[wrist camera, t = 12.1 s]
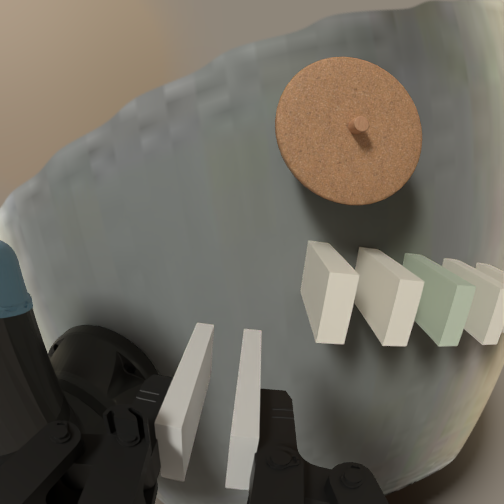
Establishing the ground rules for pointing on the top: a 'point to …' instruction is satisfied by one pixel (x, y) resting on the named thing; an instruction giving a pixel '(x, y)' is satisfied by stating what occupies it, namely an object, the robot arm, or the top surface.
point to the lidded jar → (348, 131)
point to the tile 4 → (481, 302)
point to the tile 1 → (328, 292)
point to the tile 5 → (491, 273)
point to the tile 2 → (387, 296)
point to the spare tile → (440, 300)
